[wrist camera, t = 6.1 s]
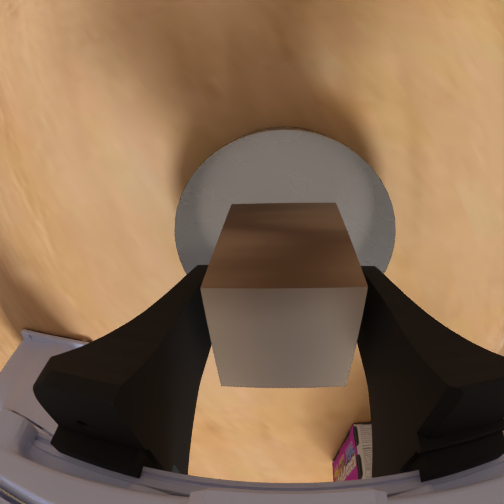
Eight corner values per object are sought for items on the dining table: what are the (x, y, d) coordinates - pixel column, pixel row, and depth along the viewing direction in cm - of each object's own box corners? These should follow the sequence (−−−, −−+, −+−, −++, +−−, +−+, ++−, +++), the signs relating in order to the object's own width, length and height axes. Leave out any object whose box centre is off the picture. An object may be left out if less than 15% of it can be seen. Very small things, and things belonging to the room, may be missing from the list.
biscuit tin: (203, 294, 20) (193, 326, 18) (179, 128, 15) (158, 138, 12) (366, 293, 19) (376, 326, 16) (385, 125, 14) (406, 135, 11)
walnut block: (239, 288, 16) (221, 386, 11) (231, 204, 14) (200, 287, 8) (329, 287, 15) (345, 386, 10) (335, 202, 13) (367, 286, 8)
